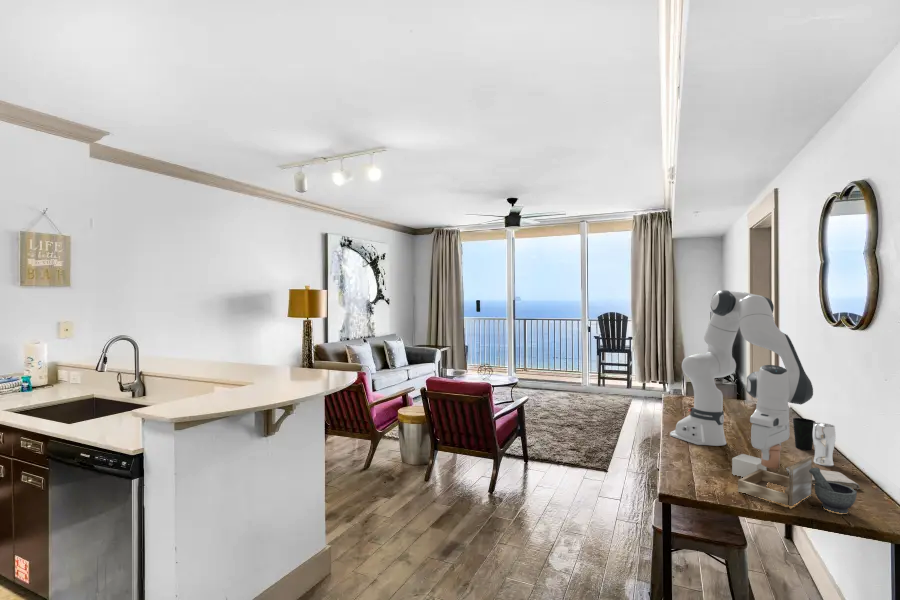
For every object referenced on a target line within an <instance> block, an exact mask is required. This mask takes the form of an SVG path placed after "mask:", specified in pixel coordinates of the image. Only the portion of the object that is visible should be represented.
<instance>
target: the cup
mask: <svg viewBox="0 0 900 600" xmlns="http://www.w3.org/2000/svg"><path fill="white" fill-rule="evenodd" d="M792 423H793V424H792V426H793V435H794V444H795V446H794V447H795V448H796V449H798V450H801V451H808V452H809V451H812V450H813V447H814V443H813V436H812V433H813V423H817V422H816V420H814V419H810V418H803V417H794V418H792Z"/></svg>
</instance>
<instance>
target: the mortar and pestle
mask: <svg viewBox="0 0 900 600" xmlns="http://www.w3.org/2000/svg"><path fill="white" fill-rule="evenodd" d="M820 470H821V469H820V468H819V467H812V469H810V470H809V472H810V473H811V474H812V475H813V477H814V479H815V481H816V483H815V485H814V492H815V493H814V494H815V496H816V498H817V500H819V501H820V502H821V507H822V506H823V507H824V508H825V509H828V510H831V511H834V512H839V513H847V512H848V513H849V509H850V508H851V507H852V506H853V505H854V504H855V503H856V501H857V496H858V495H857V494H858V491H857V490H854V489H852V488H851V487H848V486H845V485H842V484H839V483H833V482H827V481H826V479H825V478H824V476H823V475H822V474H821V472H820Z"/></svg>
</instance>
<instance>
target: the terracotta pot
mask: <svg viewBox="0 0 900 600" xmlns="http://www.w3.org/2000/svg"><path fill="white" fill-rule="evenodd" d="M781 451H782V444H781V445H779V444H777V445H775V446H773V447H770V450H769V454H770V455H771V457H770V460H764V459H763V458H762V454H761V457H760V459H761V464H762V465H763V466H765V467H767V469H768V468H769V469H780V467H781V466H780V465H781Z"/></svg>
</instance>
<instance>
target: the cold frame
mask: <svg viewBox="0 0 900 600" xmlns="http://www.w3.org/2000/svg"><path fill="white" fill-rule="evenodd" d="M788 467H789V475H788V476H786V475H783V474H779V473H775V472H772V471H768V470H767V471H766V470H762V469H759V470H757V471H755V472H753V473H751V474H749V475H747V476H745V477H743V478H742V477H740V478H738V480H737V493H739V492H742V493H746V494H749V495H752V496H756V497H760V498H764V499H767V500H771V501H775V502H778V503H782V504H785V505H789V506H793V505H794V504H796V503H798V502H799V501H801V500H802V499H804V498H806V497H807V496H809V495H811V494H812V495H813V485H812V474H811V473H810V472H809V470H810V469H812V468H813V456H812V455H808V456H807V457H805V458H803V459H801V460H798V461H797V462H795V463H794V464H791V465H790V466H788ZM768 482H770V483H773V484H777V485H781V486H784V487H787V488H786V490H785V493H783V492H780V491H776V490H773V489H770V488H766V487H767V486H766V485H767V483H768ZM742 493H741V494H742Z"/></svg>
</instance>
